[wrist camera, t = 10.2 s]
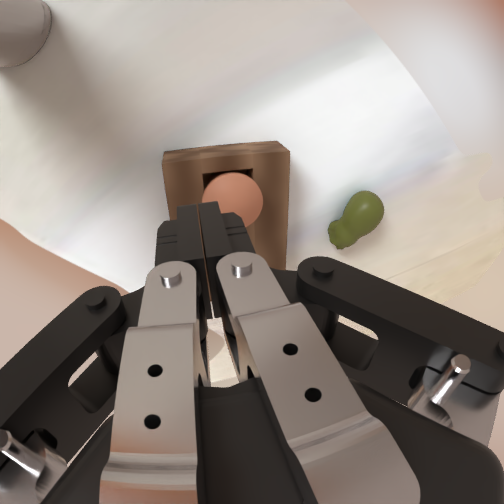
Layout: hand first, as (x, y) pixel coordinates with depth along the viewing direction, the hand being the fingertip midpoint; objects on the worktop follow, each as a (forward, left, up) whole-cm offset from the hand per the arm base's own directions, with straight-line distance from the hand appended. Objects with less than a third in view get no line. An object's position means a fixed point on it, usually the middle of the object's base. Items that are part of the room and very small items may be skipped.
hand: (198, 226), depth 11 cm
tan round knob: (+4, -9, -25) cm, 26 cm away
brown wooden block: (+4, -14, -27) cm, 31 cm away
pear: (+23, -16, -27) cm, 39 cm away
